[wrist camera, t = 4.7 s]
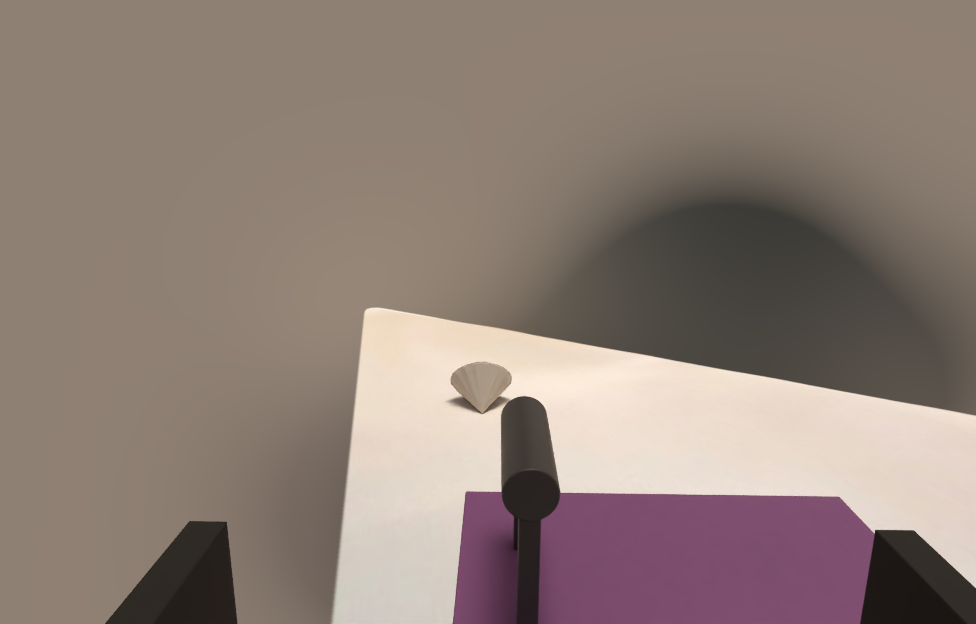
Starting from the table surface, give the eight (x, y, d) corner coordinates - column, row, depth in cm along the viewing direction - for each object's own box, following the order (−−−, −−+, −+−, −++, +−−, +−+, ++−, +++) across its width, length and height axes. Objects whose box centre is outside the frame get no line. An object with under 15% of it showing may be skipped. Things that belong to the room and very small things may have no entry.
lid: (441, 769, 18) (437, 541, 16) (465, 506, 31) (465, 363, 30) (1084, 782, 18) (1151, 551, 16) (836, 511, 31) (858, 367, 29)
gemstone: (456, 395, 61) (456, 350, 64) (445, 426, 66) (445, 382, 69) (521, 401, 63) (518, 356, 66) (505, 430, 67) (502, 387, 70)
